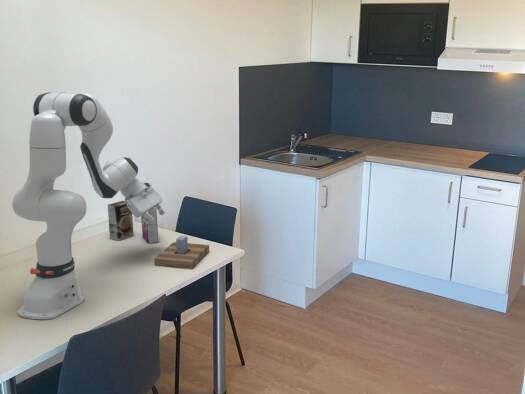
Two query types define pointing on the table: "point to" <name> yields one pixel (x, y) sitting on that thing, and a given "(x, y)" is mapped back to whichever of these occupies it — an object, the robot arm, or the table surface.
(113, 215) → the coffee box
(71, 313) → the table surface
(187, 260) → the walnut block
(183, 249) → the grey post
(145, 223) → the candy bar box
